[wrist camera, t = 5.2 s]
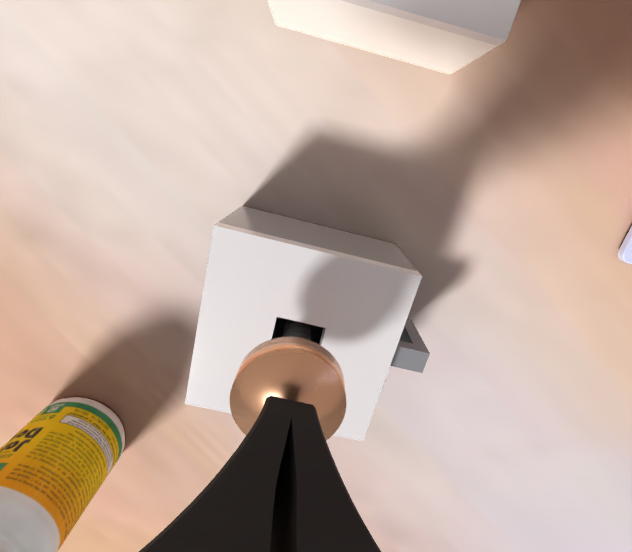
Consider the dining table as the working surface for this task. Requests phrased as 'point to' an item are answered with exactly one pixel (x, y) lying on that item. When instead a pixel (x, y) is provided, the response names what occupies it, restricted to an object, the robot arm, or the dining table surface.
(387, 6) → the press white
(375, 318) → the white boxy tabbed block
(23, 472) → the supplement bottle
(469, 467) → the dining table surface
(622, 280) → the dining table surface
